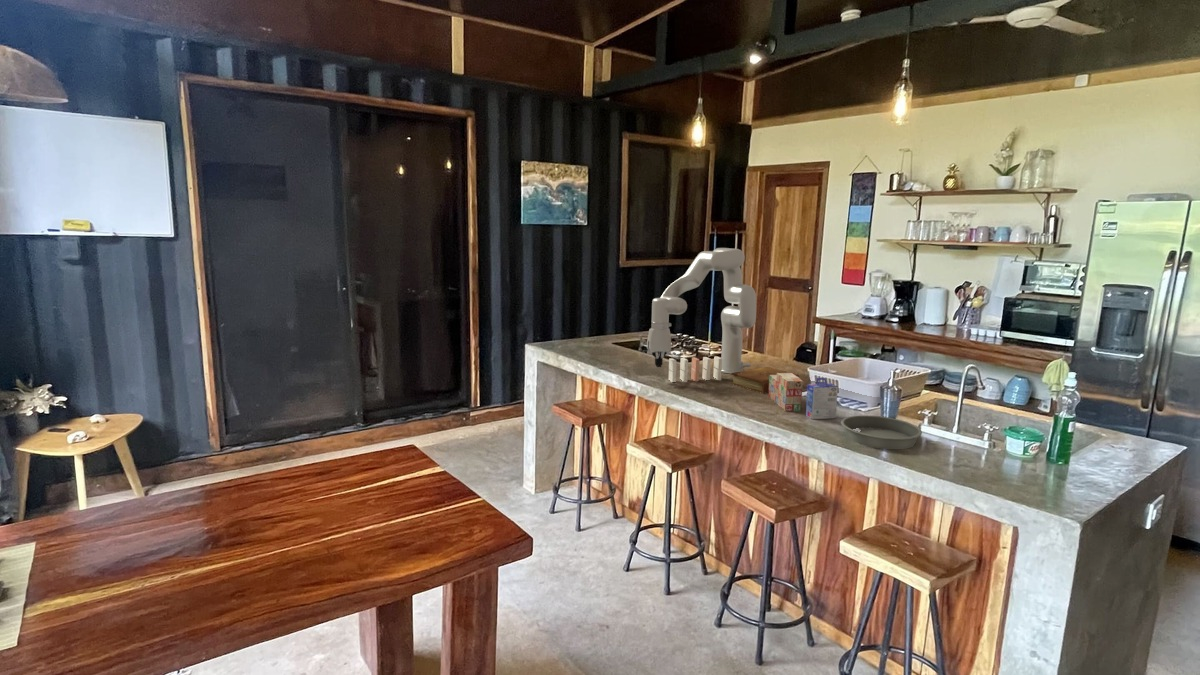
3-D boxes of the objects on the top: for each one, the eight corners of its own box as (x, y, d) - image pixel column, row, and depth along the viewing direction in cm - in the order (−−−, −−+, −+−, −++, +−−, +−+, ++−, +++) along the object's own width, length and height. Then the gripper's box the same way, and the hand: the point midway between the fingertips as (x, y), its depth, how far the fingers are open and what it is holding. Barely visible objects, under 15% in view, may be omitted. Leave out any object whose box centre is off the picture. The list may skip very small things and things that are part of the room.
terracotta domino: (694, 378, 288) (695, 357, 286) (698, 381, 284) (699, 359, 282) (691, 378, 288) (691, 357, 286) (695, 381, 283) (696, 359, 281)
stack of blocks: (767, 396, 260) (769, 367, 258) (782, 396, 260) (784, 367, 258) (784, 411, 239) (786, 380, 237) (801, 411, 239) (803, 380, 237)
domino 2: (705, 378, 290) (706, 356, 288) (710, 380, 285) (710, 359, 283) (702, 378, 289) (703, 357, 287) (706, 380, 284) (707, 359, 283)
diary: (763, 394, 264) (763, 381, 263) (730, 385, 279) (731, 372, 278) (799, 387, 277) (799, 374, 276) (766, 378, 292) (766, 366, 291)
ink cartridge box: (828, 414, 236) (831, 376, 233) (836, 418, 231) (839, 380, 228) (804, 415, 234) (807, 377, 232) (811, 419, 229) (814, 381, 226)
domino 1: (683, 379, 287) (683, 357, 285) (687, 381, 282) (688, 360, 280) (679, 379, 287) (680, 358, 285) (683, 382, 282) (684, 360, 280)
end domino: (716, 377, 291) (717, 356, 289) (721, 380, 286) (722, 358, 284) (713, 377, 291) (714, 356, 289) (717, 380, 286) (718, 358, 284)
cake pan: (933, 441, 208) (935, 427, 207) (898, 457, 193) (899, 443, 192) (863, 422, 227) (864, 410, 226) (826, 436, 212) (827, 423, 211)
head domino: (671, 379, 286) (672, 358, 284) (675, 382, 281) (676, 360, 279) (668, 380, 285) (669, 358, 283) (672, 382, 280) (673, 360, 279)
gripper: (672, 324, 282) (671, 364, 285) (641, 325, 279) (639, 365, 282) (678, 327, 275) (677, 367, 278) (646, 327, 271) (645, 369, 275)
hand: (658, 366), depth 280 cm, fingers closed
